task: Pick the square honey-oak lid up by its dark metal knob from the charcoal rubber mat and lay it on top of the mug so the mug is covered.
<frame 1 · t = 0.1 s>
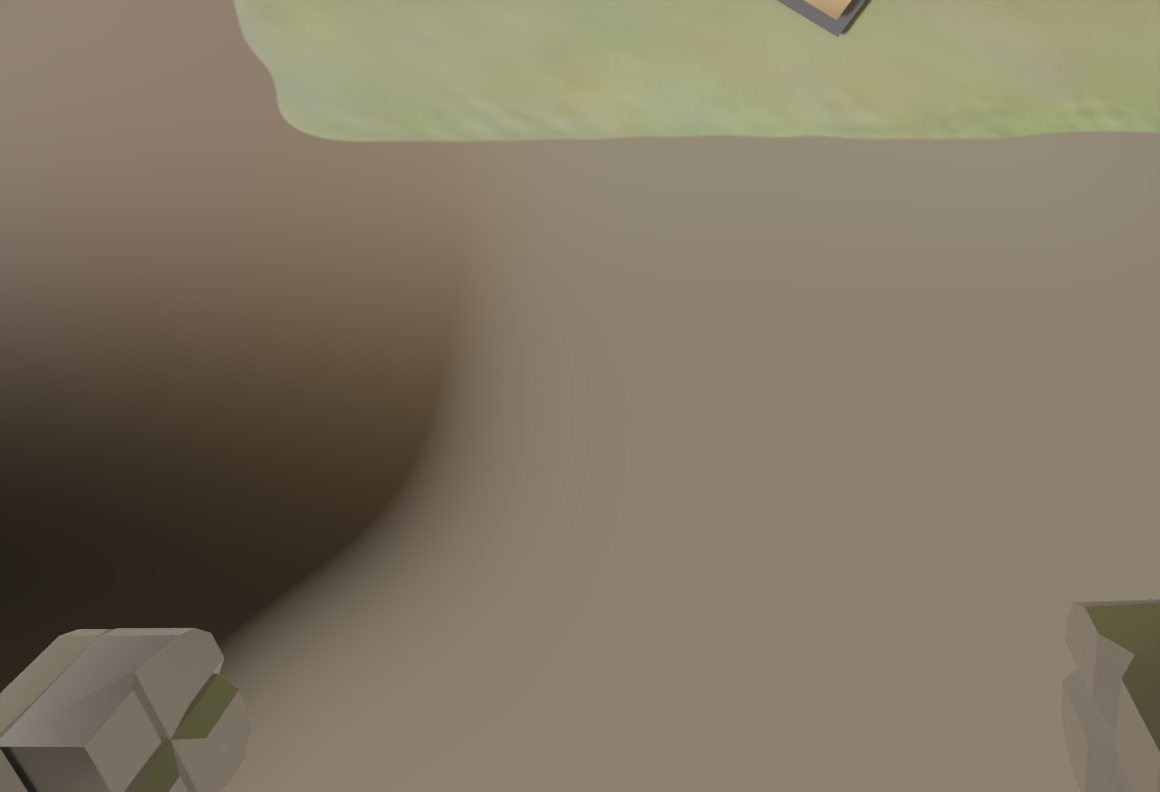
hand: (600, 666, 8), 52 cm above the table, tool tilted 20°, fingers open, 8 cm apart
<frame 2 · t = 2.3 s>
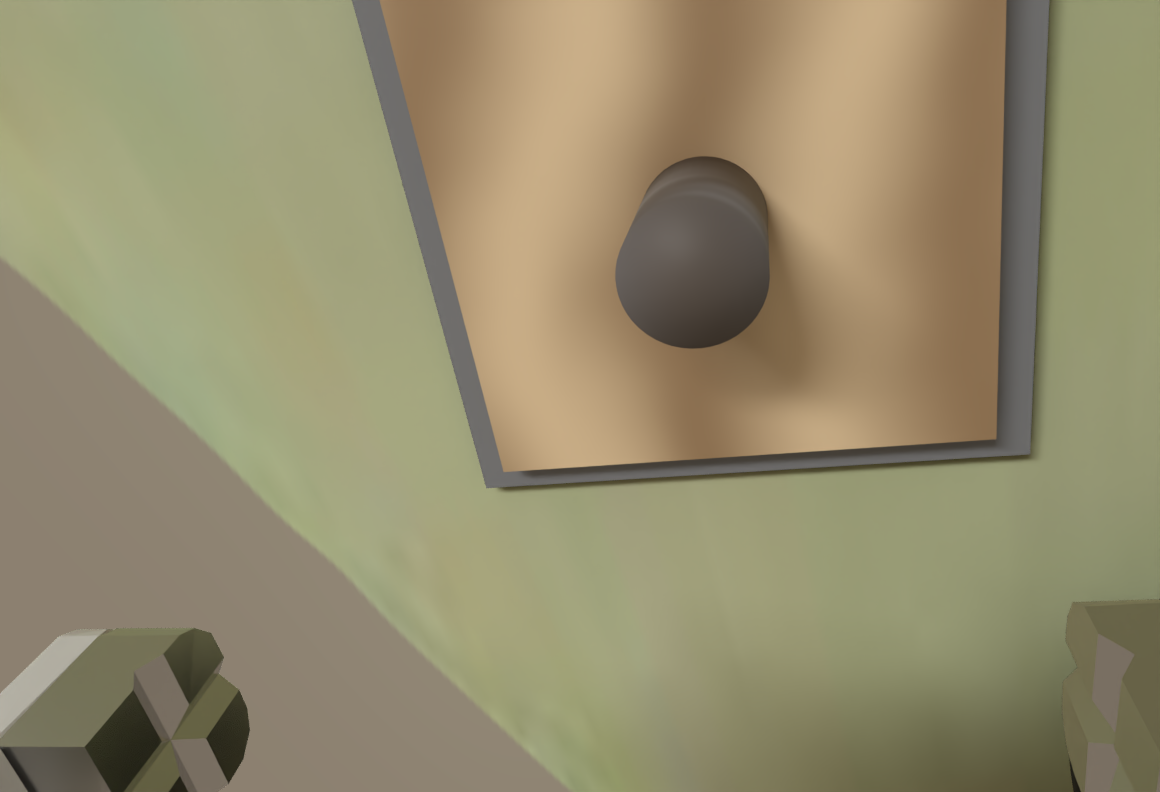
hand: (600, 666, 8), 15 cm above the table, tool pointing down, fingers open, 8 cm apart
mat: (705, 206, 22), on the table
lid: (698, 241, 19), on the mat
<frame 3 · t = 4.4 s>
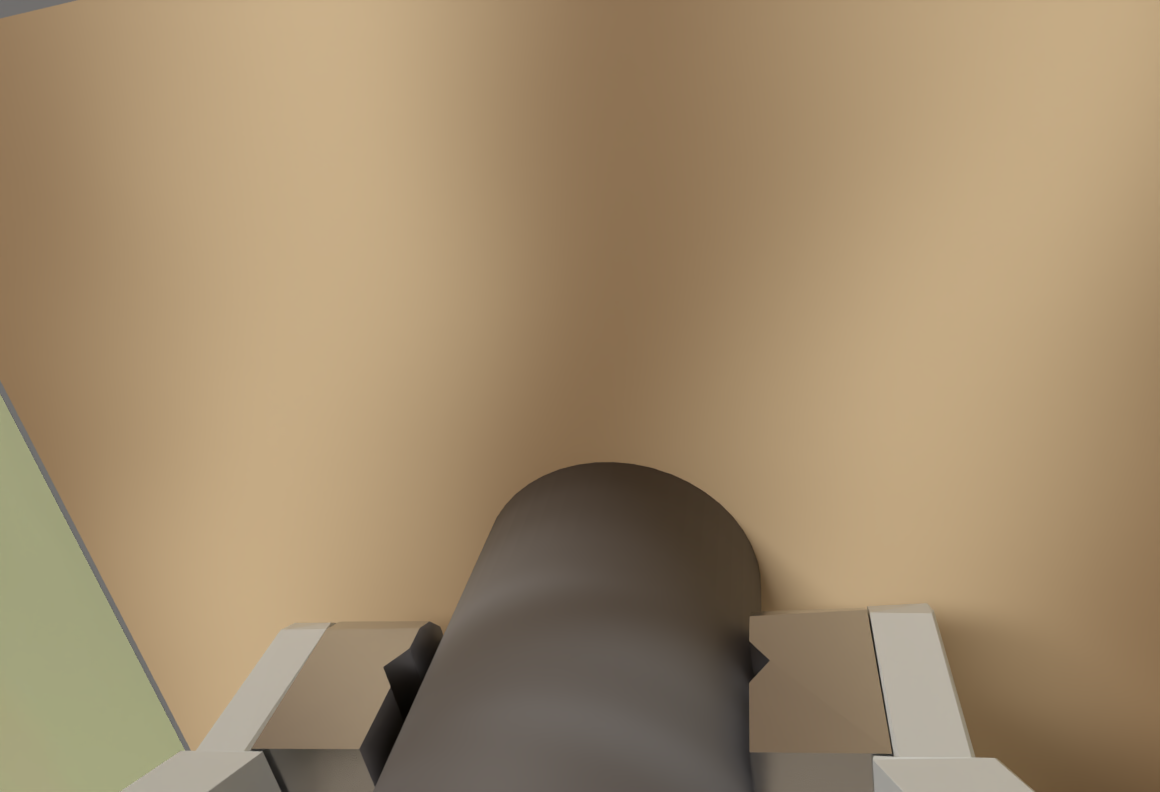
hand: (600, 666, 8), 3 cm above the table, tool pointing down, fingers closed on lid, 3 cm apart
mat: (632, 513, 11), on the table
lid: (596, 691, 8), on the mat, touching gripper
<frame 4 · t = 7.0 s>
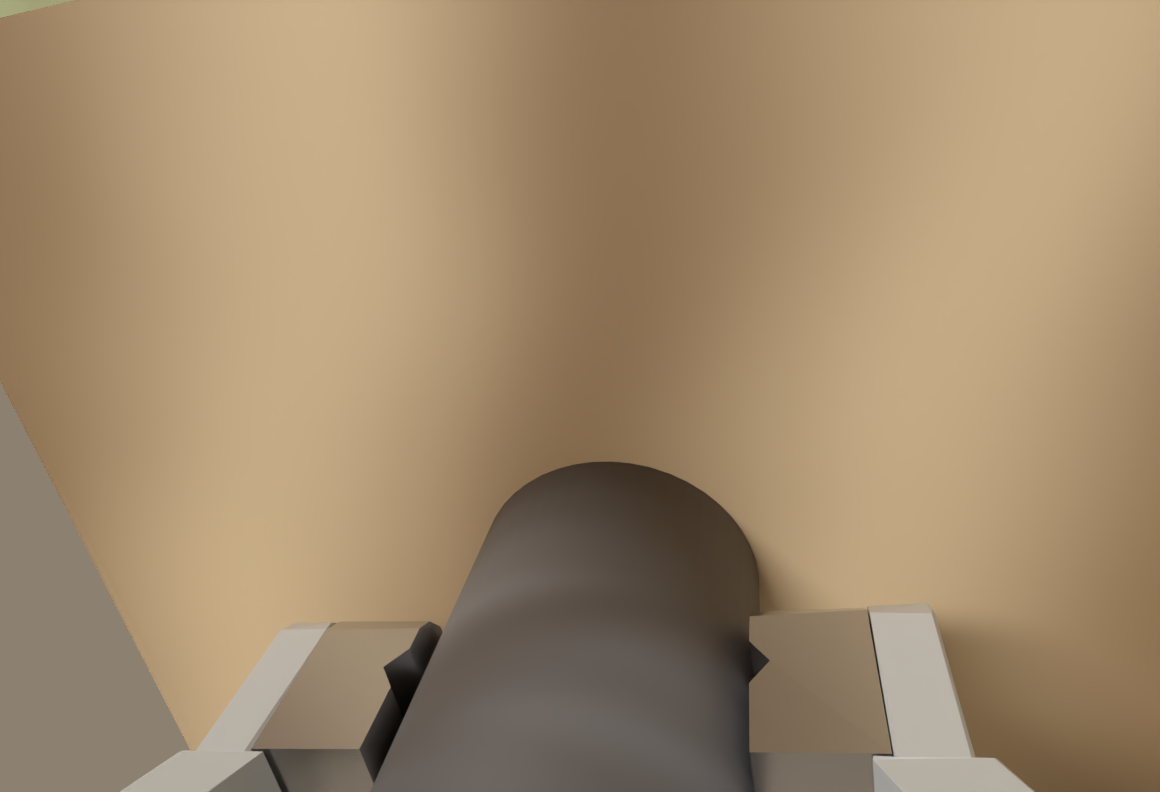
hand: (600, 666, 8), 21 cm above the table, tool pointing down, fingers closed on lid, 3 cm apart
lid: (594, 690, 8), point 22 cm above the table, touching gripper
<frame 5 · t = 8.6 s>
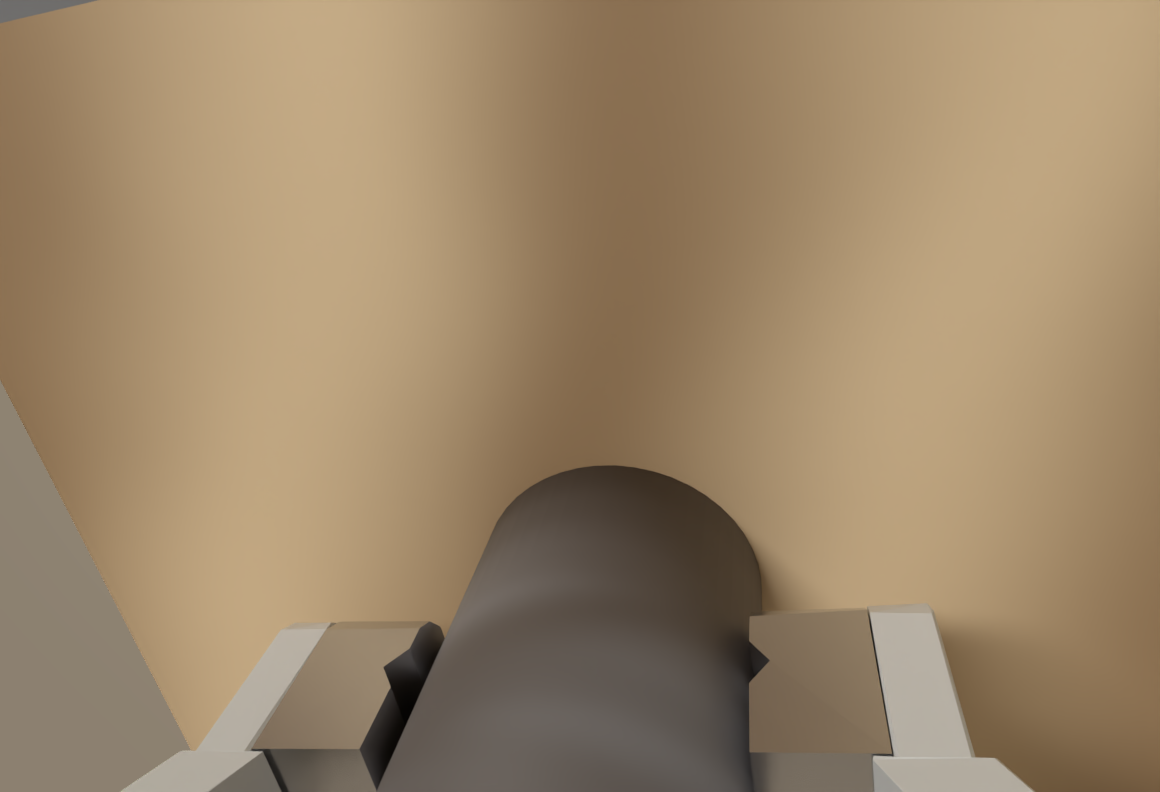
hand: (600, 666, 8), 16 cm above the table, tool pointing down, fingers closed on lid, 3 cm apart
lid: (597, 694, 8), point 16 cm above the table, touching gripper
when the fingers open (13 cm above the table, at t = 9.8 s): lid drops 1 cm, resting on mug.
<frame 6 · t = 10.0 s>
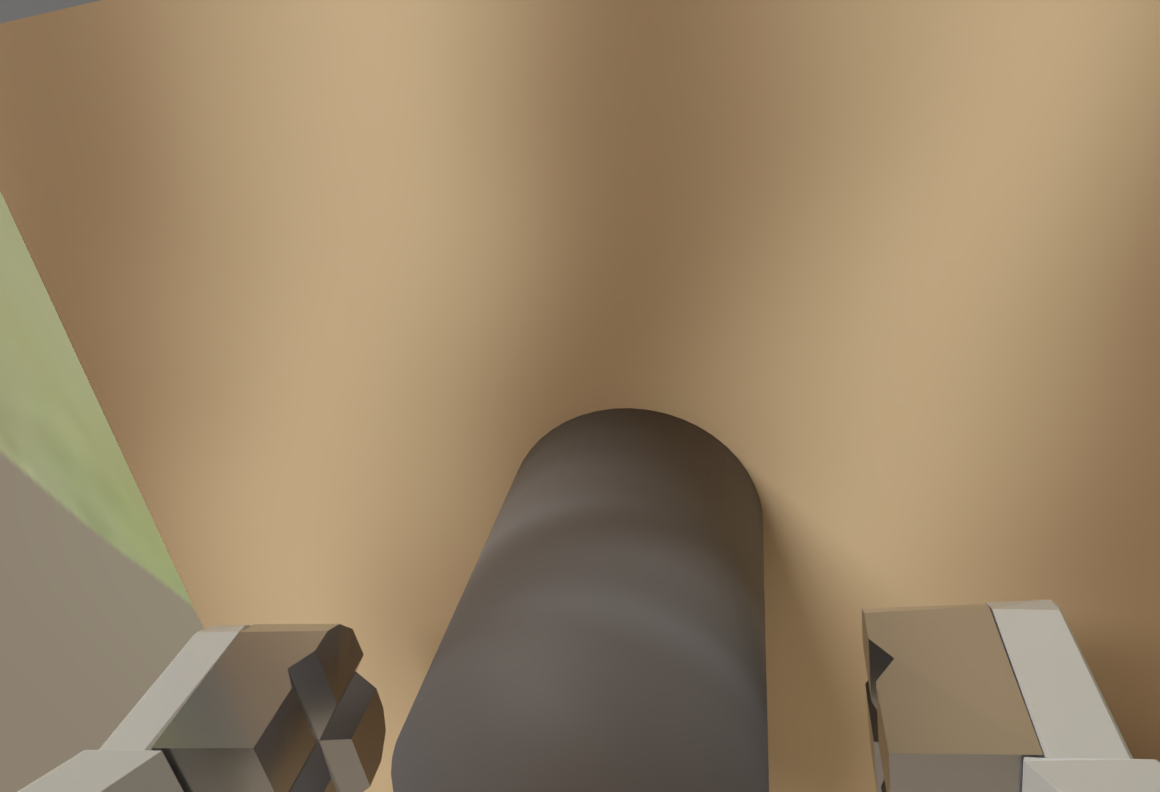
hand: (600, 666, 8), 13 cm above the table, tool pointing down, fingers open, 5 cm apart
lid: (615, 609, 9), point 12 cm above the table, touching mug
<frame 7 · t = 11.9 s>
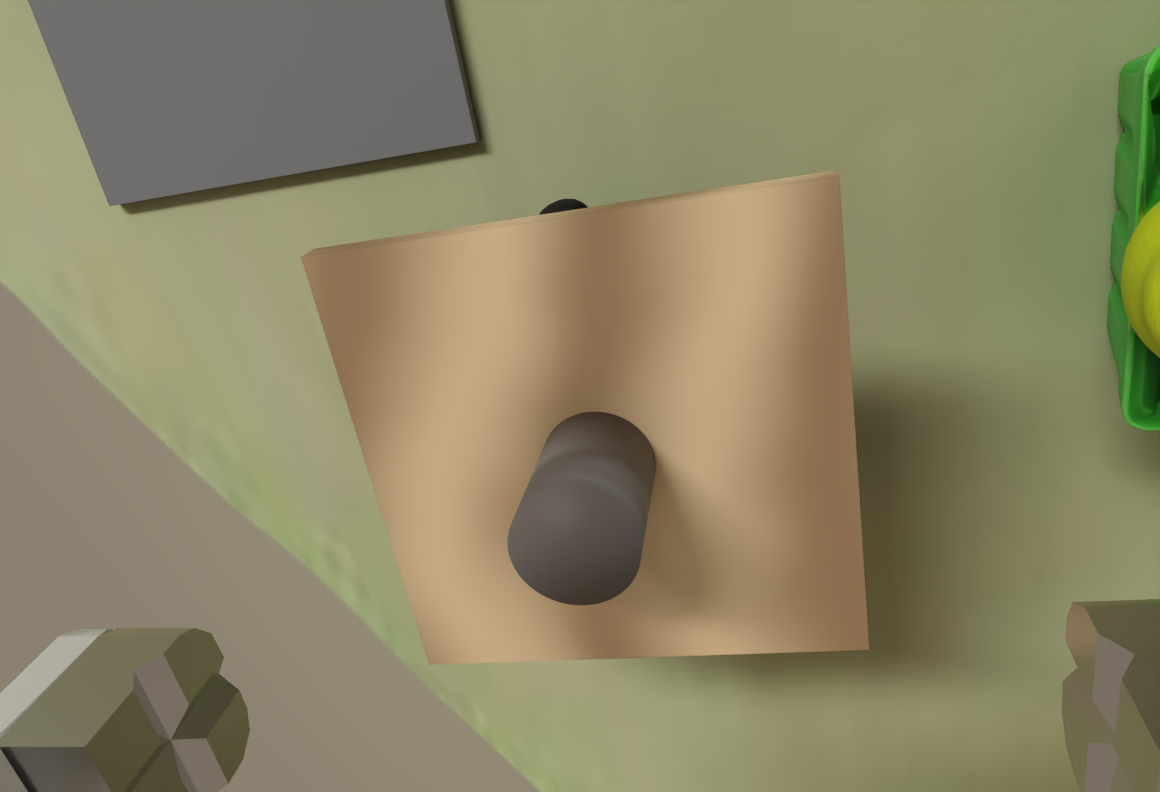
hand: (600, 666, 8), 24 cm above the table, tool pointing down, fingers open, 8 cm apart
mug: (638, 321, 33), on the table, touching lid
lid: (589, 494, 21), point 12 cm above the table, touching mug
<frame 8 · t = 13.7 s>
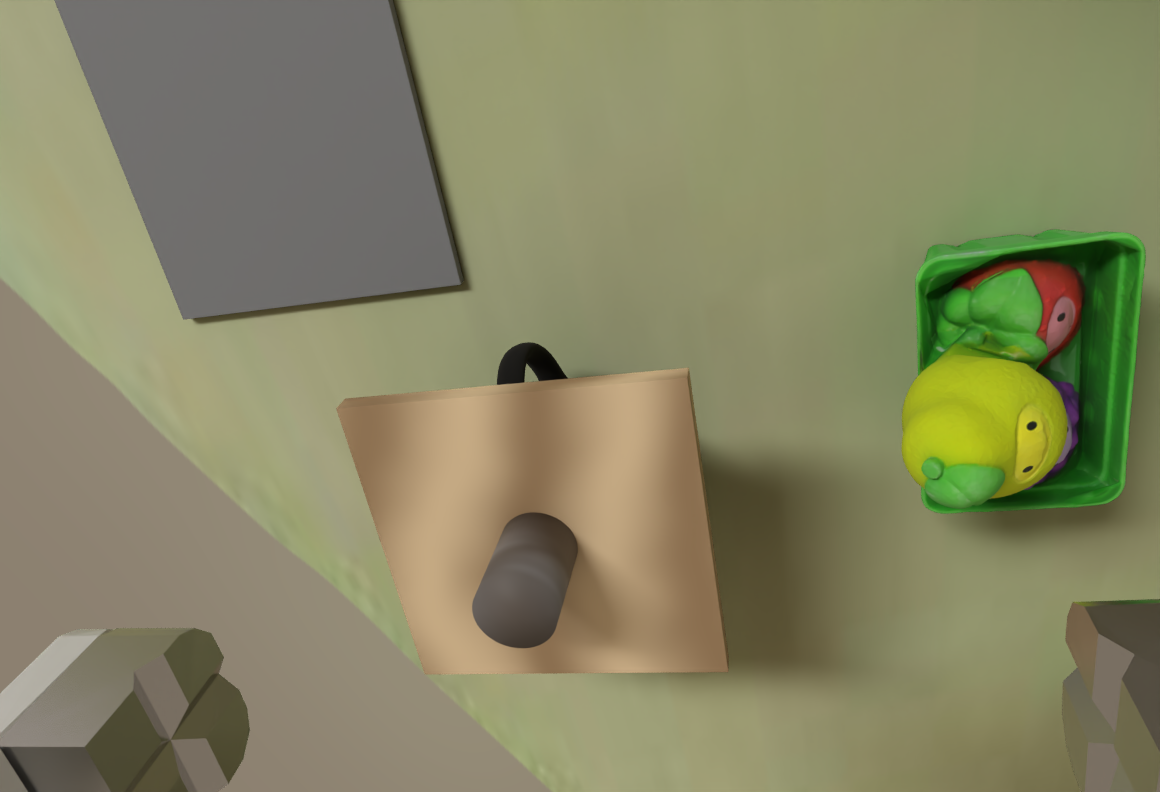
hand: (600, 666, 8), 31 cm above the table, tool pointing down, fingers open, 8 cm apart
fruit basket: (976, 336, 38), on the table
mug: (586, 411, 43), on the table, touching lid
mat: (269, 144, 39), on the table
lid: (530, 571, 32), point 12 cm above the table, touching mug
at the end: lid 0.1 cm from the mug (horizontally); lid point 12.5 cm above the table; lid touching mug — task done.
